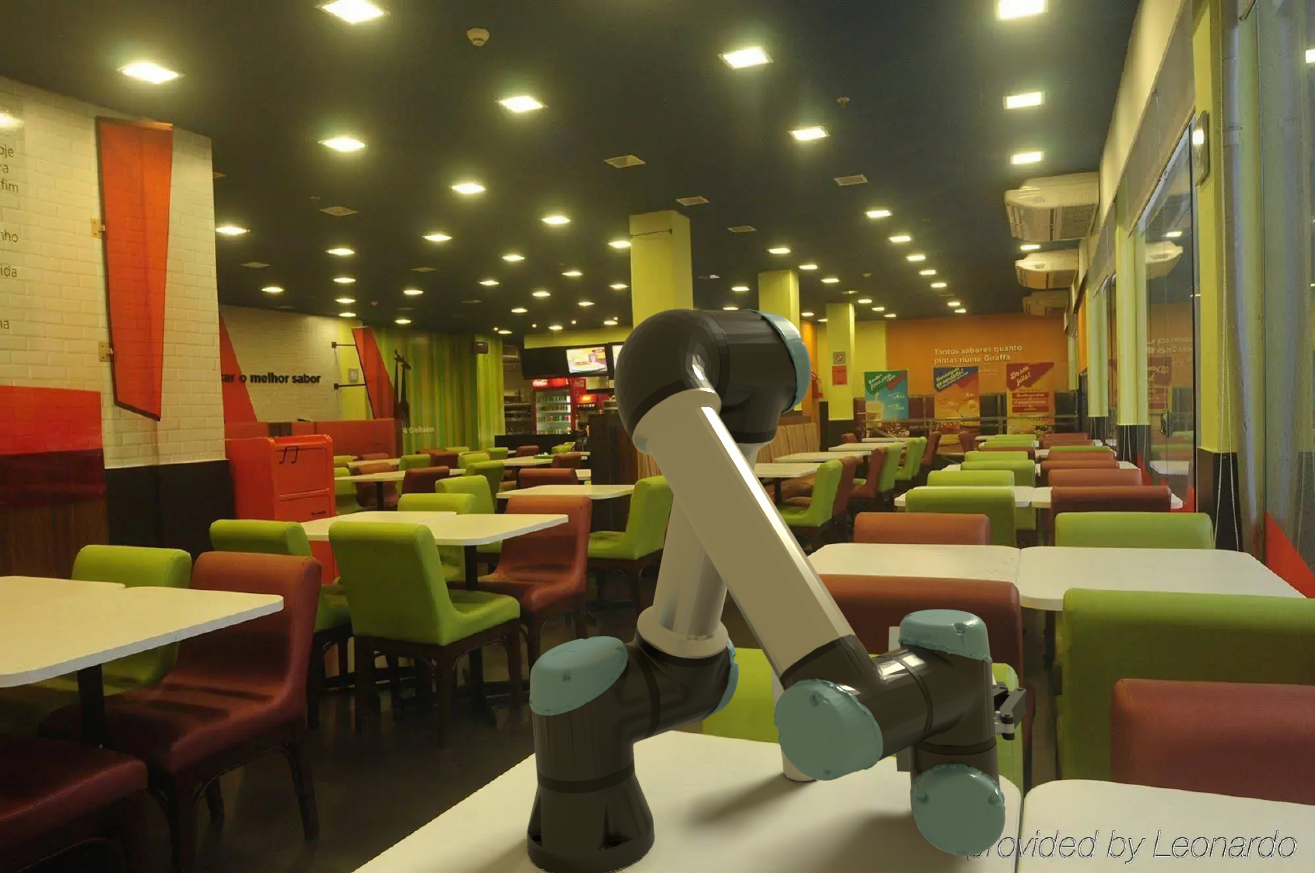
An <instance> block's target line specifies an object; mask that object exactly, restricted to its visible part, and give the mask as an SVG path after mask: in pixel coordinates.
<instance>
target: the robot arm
mask: <svg viewBox="0 0 1315 873" xmlns="http://www.w3.org/2000/svg"><path fill="white" fill-rule="evenodd" d="M626 337H627V338H625V340H624V342H623V344H622V346H621V348H620V351H619V353H618V355H617V359H616V362H615V367H614V374H613V389H614V399H615V404H616V408H617V412H618V415H619V419H620V420H621V423H622V425H623V427H624V429H625V432H626V433H627V435H628V437H629V438H630V440H631V441H632V444H633V447H635V449H636V451H638V452H639V453H641V454H643V455H647V456H652V458H653V459H654V461H655V464H656V465H657V467H658V469H659V472H661V474H662V476H663V478H664V479H665V481H666V483H667V484H668V487H669V489H670V490H671V492H672V493H673V499H672V500H673V501H672V504H671V510H670V516H669V519H668V525H667V530H666V536H665V541H664V546H663V552H662V556H661V561H660V567H659V572H658V578H657V583H656V588H655V593H654V597H653V598H654V599H653V603H652V606H649V607H647V608H646V609H644V610H643V611H642V612H641V613H640V614H639V615H638V619H637V622H636V627H635V634H634V638H633V640H632V641H631V642H627V643H626V642H625V643H624V642H623V641H622V639H621V640H620V639H619V638H616V637H612V636H605V635H603V636H591V637H588V638H586V639H585V638H579V639H575V640H574V639H573V640H570V641H568V642H564V643H562V644H559V645H557V646H554V647H553V648H550V649H549V650H547V651H546V652H544V653H543V654H542V655H541V656H540V657H538V659H536V661H535V663H534V664H533V666H532V668H531V670H530V677H529V678H530V680H529V685H530V686H529V699H528V700H529V707H530V709H531V719H532V720H531V721H532V731H533V734H532V735H533V742H534V743H533V745H534V754H535V755H534V756H535V757H534V758H535V767H536V777H537V778H536V780H537V783H536V784H537V785H536V786H537V788H536V789H535V790H536V791H535V795H534V800H533V804H532V808H531V812H530V816H529V820H528V825H527V829H526V844H527V845H526V848H527V855H528V858H529V860H530V862H531V863H532V864H533V865H535V866H536V867H537V868H539V869H540V870H543V871H545V872H547V873H611V872H615V871H619V870H620V869H624V868H626V867H628V866H630V865H632V864H634V863H635V862H637V861H639V860H640V859H642V858H643V857H645V855H646V854H648V853H649V851H650V849H651V848H652V847H653V845H654V843H655V825H654V824H655V822H654V818H653V813H652V810H651V809H650V806H649V804H648V801H647V799H646V796H645V794H644V791H643V789H642V786H641V785H640V782H639V779H638V777H637V774H636V767H635V765H636V764H635V752H634V744H636V743H639V742H641V741H644V740H647V739H651V738H653V737H656V736H659V735H663V734H666V733H668V732H671V731H674V730H676V729H680V728H682V727H686V726H689V725H693V724H696V723H698V722H702V721H704V720H707V719H708V718H709V717H711V716H713V715H715V714H717V713H719V712H721V711H722V710H723V709H724V708H726V707H727V706H728V705H729V703H730V701H731V700H732V699H733V697H734V694H735V693H736V690H737V687H738V683H739V675H740V674H739V672H740V671H739V669H740V668H739V662H737V661H736V660H735V657H736V656H737V652H736V649H735V646H734V644H733V642H732V641H731V639H730V637H729V633H728V629H727V628H726V626H725V625H724V623H723V622H722V621H721V618H722V613H723V609H724V604H725V601H726V596H727V593H728V592H729V595H730V596H731V597H732V599H733V601H734V604H736V607H737V609H738V610H739V612H740V614H741V615H742V617H743V619H744V621H745V622H746V624H747V626H748V628H749V630H750V631H751V634H753V637H754V638H755V640H756V642H757V644H758V645H759V647H760V649H761V650H762V652H763V654H764V656H765V658H766V659H767V662H768V663H769V665H770V666H771V667H772V669H773V670H774V672H775V674H776V676H777V677H778V679H779V682H780V683H781V685H782V687H783V690H784V692H783V693H782V695H781V696H780V697H779V700H778V702H777V704H776V707H775V708H774V713H773V714H774V720H773V721H774V723H773V724H774V726H775V727H776V728H777V733H778V732H779V733H778V738H777V740H778V743H779V746H780V749H781V748H782V750H783V752H784V754H785V755H786V757H787V758H788V760H789V761H790V762H791V763H792V764H793V765H794V766H795V767H796V768H797V769H798V770H799V771H800V772H802V773H803V774H805V775H806V776H808V777H810V778H813V779H814V780H816V781H823V782H826V781H829V782H830V781H834V780H838V779H839V778H842V777H844V776H848V775H850V774H854V773H857V772H860V771H862V770H865V771H867V770H869V769H872V768H873V767H874V766H875V765H877V764H878V762H880V761H883V760H885V759H887V758H889V757H890V756H893V755H894V754H895V755H896V753H897V752H899V751H901V750H903V749H905V748H907V747H908V751H909V765H910V772H909V775H910V776H909V778H910V779H909V780H910V790H909V794H910V795H909V796H910V797H909V799H910V808H911V812H912V814H913V819H914V822H915V823H916V826H917V828H918V830H919V832H920V833H921V835H922V836H923V838H925V840H927V841H928V842H929V844H931V845H932V846H934V848H937V849H938V850H941V851H942V852H944V853H947V854H949V855H953V856H955V855H956V856H960V857H966V856H967V857H968V856H969V857H970V856H974V855H975V856H976V855H978V854H981V853H984V852H986V851H988V850H989V849H991V847H993V846H994V845H995V844H996V843H997V842H998V841H999V839H1000V838H1001V836H1002V834H1003V832H1004V829H1005V825H1006V806H1005V794H1004V793H1003V791H1001V782H1000V773H999V757H998V756H999V755H998V754H999V753H998V742H997V736H1001V738H1002V739H1003V740H1005V741H1015V740H1016V735H1015V734H1016V733H1015V730H1016V729H1017V727H1018V725H1019V724H1020V723H1021V721H1022V720H1023V719H1024V717H1025V716H1026V714H1027V712H1028V701H1027V689H1026V688H1023V687H1015V689H1013V691H1012V690H1009V687H1008V686H1007V685H1006V682H1004V681H996V679H995V675H994V673H993V672H994V671H993V659H992V657H991V650H990V644H989V642H990V641H989V637H988V636H989V635H988V629H987V626H986V623H985V622H984V621H983V620H982V618H980V617H979V616H977V615H975V614H974V613H970V612H967V611H964V610H962V611H961V610H957V609H943V608H942V609H941V608H940V609H925V610H918V611H914V612H911V613H909V614H907V615H905V616H904V617H903V619H902V620H901V622H900V624H899V627H900V637H899V639H898V643H900V648H898V649H895V650H893V651H890V652H889V651H887V652H885V653H882V654H879V655H876V656H873V657H871V656H870V655H869V652H868V651H867V649H866V648H865V646H864V644H863V643H862V641H860V639H859V638H858V636H857V635H856V632H854V630H853V628H852V627H851V625H850V623H849V622H848V620H847V618H846V617H845V616H844V613H843V612H842V611H841V609H840V608H839V606H838V604H837V602H836V601H835V599H834V598H833V596H832V594H831V593H830V591H829V590H828V588H827V587H826V585H825V583H824V582H823V580H822V579H821V577H820V575H819V574H818V572H817V570H816V569H815V567H814V566H813V564H812V563H811V561H810V559H809V558H808V556H807V554H806V553H805V552H804V550H803V548H802V547H801V545H800V544H799V542H798V540H797V539H796V537H795V535H794V534H793V532H792V530H791V529H790V528H789V526H788V524H787V523H786V520H784V518H783V515H781V513H780V511H779V509H778V508H777V507H776V505H775V503H774V502H773V500H772V498H771V497H770V495H769V494H768V492H767V491H766V489H765V487H764V486H763V484H762V482H761V481H760V480H759V478H758V476H757V475H756V473H755V468H756V462H757V458H758V454H759V450H761V449H763V448H764V447H766V446H768V445H769V444H772V443H773V442H774V441H775V438H776V433H777V429H778V425H779V421H780V418H781V415H782V414H786V413H788V412H791V411H792V410H793V409H794V408H795V407H796V406H798V405H800V404H801V403H802V401H803V400H804V398H805V397H806V395H807V394H808V391H809V388H810V383H811V378H812V377H811V373H812V369H811V368H812V367H811V365H812V364H811V359H810V353H809V351H808V347H807V345H806V344H805V343H804V342H803V338H802V334H801V333H800V331H799V330H798V329H797V327H796V326H795V325H794V324H793V323H792V322H791V321H789V319H787V318H785V317H784V316H782V315H780V314H777V313H774V312H769V311H761V310H754V309H750V308H744V309H691V308H690V309H688V308H674V309H673V308H672V309H666V310H664V311H659V312H657V313H655V314H653V315H651V316H649V317H646V318H645V319H644V320H643V321H642V322H640V323H639V324H638V325H636V327H634V329H633V330H632V331H631V333H630V334H629V335H628V336H626ZM995 732H996V735H995Z"/></svg>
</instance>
